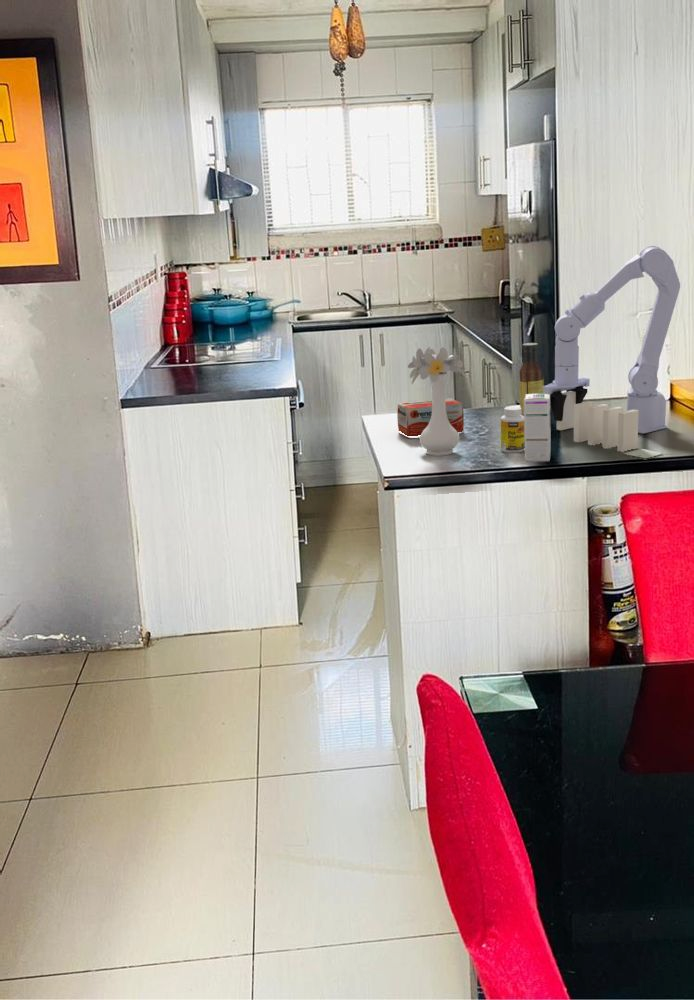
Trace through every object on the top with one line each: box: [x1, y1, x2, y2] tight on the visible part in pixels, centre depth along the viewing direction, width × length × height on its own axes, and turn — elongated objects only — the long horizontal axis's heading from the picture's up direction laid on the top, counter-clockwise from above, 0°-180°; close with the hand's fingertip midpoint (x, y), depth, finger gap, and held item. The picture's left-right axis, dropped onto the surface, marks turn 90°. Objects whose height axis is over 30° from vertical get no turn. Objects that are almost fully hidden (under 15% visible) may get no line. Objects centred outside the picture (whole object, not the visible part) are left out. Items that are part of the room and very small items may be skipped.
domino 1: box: [556, 391, 576, 431], centre depth 264 cm, size 2×5×9 cm, turn 125°
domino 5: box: [616, 410, 639, 453], centre depth 243 cm, size 2×5×9 cm, turn 125°
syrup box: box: [524, 393, 552, 462], centre depth 238 cm, size 6×6×14 cm
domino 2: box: [573, 401, 595, 443], centre depth 254 cm, size 2×5×9 cm, turn 125°
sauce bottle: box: [518, 342, 545, 416], centre depth 276 cm, size 6×6×20 cm
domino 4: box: [601, 406, 624, 449], centre depth 246 cm, size 2×5×9 cm, turn 125°
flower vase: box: [407, 346, 468, 457], centre depth 246 cm, size 13×18×25 cm
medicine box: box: [397, 397, 465, 436], centre depth 268 cm, size 15×8×8 cm, turn 106°
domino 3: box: [587, 403, 609, 446], centre depth 250 cm, size 2×5×9 cm, turn 125°
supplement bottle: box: [500, 405, 525, 454], centre depth 247 cm, size 6×6×10 cm
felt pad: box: [623, 448, 664, 458], centre depth 239 cm, size 6×6×1 cm
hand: (566, 418), depth 265 cm, fingers closed on domino 1, 5 cm apart
